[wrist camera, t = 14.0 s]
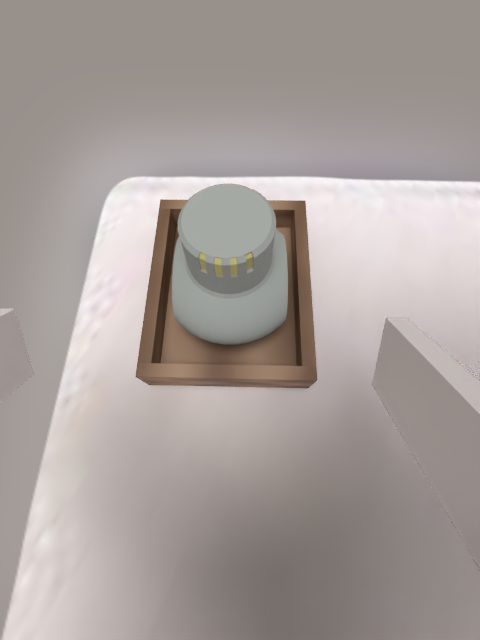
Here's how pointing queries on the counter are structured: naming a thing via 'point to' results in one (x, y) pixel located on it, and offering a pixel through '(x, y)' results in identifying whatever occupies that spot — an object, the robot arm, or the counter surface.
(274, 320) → the air freshener
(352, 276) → the counter surface
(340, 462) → the counter surface
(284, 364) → the tray
